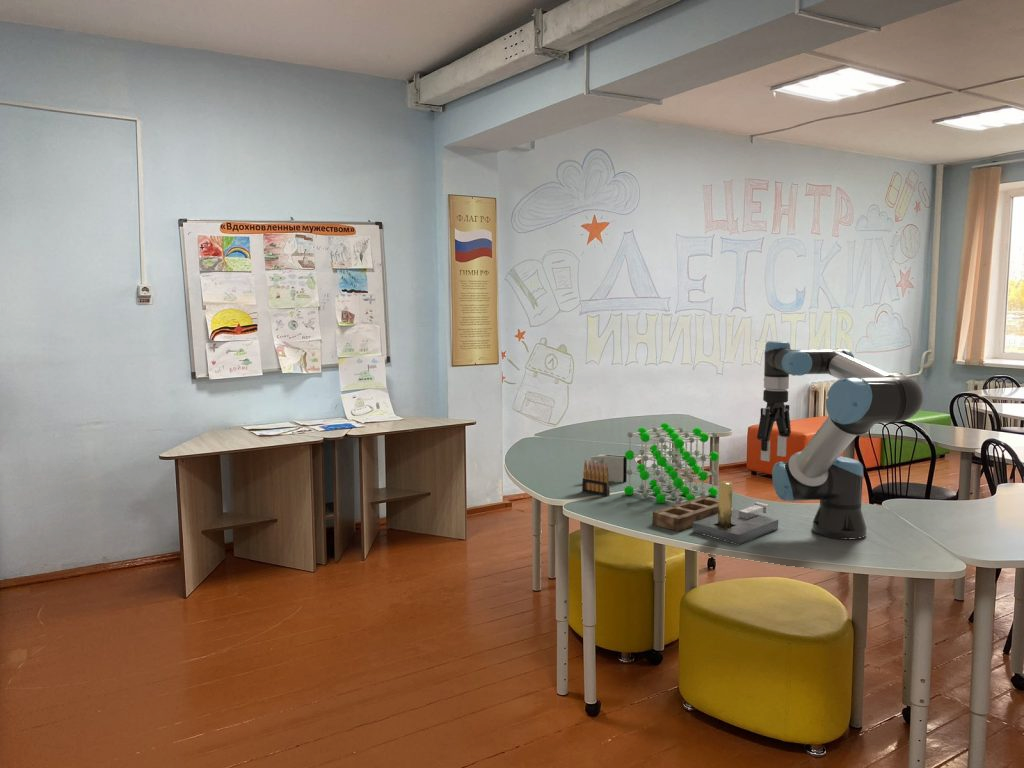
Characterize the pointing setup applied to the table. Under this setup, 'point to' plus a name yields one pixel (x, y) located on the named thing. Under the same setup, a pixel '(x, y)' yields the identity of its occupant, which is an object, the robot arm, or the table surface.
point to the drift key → (754, 510)
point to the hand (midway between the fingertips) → (773, 458)
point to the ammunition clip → (595, 479)
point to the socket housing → (736, 527)
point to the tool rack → (685, 513)
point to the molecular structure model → (670, 467)
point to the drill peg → (725, 504)
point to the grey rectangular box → (612, 466)
